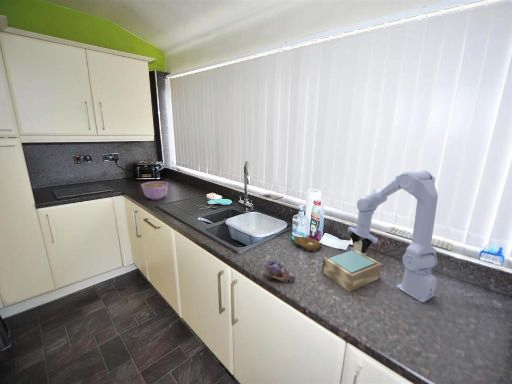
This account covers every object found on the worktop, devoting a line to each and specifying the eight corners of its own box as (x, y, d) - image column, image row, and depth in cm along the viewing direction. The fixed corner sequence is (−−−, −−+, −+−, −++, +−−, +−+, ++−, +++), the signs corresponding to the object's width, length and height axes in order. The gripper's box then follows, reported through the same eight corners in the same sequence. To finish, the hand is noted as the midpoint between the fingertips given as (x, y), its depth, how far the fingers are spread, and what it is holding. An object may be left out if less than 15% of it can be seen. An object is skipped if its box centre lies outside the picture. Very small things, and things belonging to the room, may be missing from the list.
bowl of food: (174, 198, 189) (173, 184, 186) (149, 203, 175) (147, 188, 172) (162, 193, 202) (161, 180, 199) (138, 197, 188) (136, 183, 185)
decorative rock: (286, 244, 121) (311, 256, 111) (287, 237, 120) (312, 249, 110) (299, 236, 129) (324, 247, 119) (300, 229, 128) (325, 240, 118)
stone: (365, 254, 112) (367, 244, 111) (359, 256, 110) (361, 245, 109) (358, 250, 116) (359, 240, 114) (352, 252, 114) (354, 242, 112)
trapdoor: (328, 260, 96) (328, 258, 96) (351, 252, 103) (352, 250, 103) (350, 274, 87) (351, 272, 87) (375, 265, 94) (375, 262, 93)
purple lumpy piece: (297, 278, 93) (298, 264, 92) (289, 289, 87) (290, 274, 85) (271, 268, 100) (271, 255, 98) (261, 277, 93) (261, 263, 92)
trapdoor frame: (321, 271, 98) (323, 257, 96) (350, 261, 106) (352, 247, 104) (349, 291, 86) (352, 276, 84) (379, 278, 94) (382, 263, 93)
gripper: (384, 228, 105) (379, 255, 108) (356, 217, 117) (352, 242, 121) (373, 231, 101) (369, 259, 105) (346, 219, 114) (342, 245, 117)
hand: (359, 250), depth 113 cm, fingers closed on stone, 4 cm apart
